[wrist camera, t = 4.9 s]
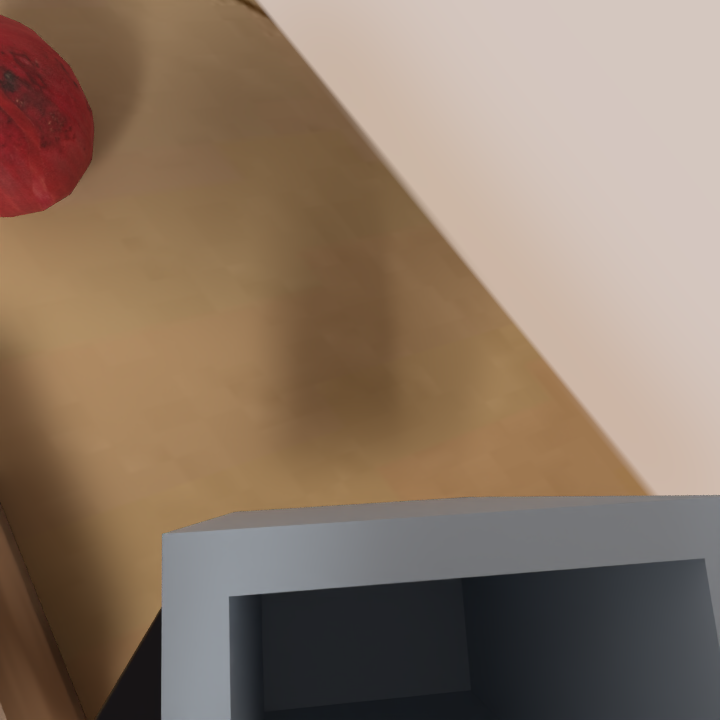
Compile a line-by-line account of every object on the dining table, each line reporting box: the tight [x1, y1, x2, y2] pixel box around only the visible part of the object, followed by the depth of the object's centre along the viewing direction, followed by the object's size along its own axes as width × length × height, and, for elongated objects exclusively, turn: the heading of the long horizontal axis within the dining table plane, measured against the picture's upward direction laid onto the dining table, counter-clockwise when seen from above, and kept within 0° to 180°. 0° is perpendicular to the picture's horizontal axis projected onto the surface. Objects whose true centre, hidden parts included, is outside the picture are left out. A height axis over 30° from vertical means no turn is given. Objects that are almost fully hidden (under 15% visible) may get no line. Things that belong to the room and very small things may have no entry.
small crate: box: [161, 495, 720, 720], centre depth 11 cm, size 5×6×10 cm
